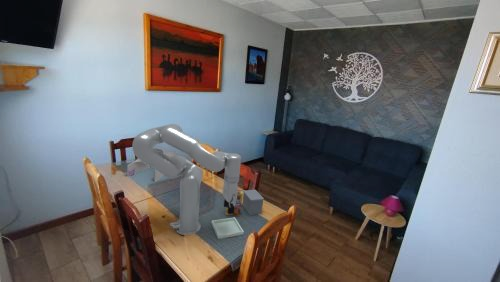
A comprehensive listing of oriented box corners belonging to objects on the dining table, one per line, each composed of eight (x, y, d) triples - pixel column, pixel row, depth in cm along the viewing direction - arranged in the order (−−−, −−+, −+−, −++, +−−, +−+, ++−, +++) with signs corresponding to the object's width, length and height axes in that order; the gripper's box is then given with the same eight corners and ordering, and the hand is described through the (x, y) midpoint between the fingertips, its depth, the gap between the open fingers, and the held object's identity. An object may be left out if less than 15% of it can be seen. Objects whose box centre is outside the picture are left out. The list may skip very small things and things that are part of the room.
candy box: (225, 215, 135) (227, 191, 132) (226, 211, 139) (228, 188, 136) (240, 216, 135) (242, 193, 132) (240, 213, 139) (243, 189, 136)
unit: (249, 216, 137) (251, 200, 134) (241, 205, 148) (243, 190, 146) (262, 214, 140) (264, 198, 138) (253, 204, 151) (255, 189, 149)
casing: (155, 183, 166) (155, 157, 162) (127, 178, 170) (126, 152, 165) (174, 171, 193) (175, 148, 188) (149, 166, 196) (149, 144, 192)
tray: (218, 239, 113) (218, 236, 113) (211, 223, 126) (211, 220, 125) (243, 235, 119) (243, 231, 118) (234, 220, 131) (234, 217, 131)
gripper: (219, 171, 122) (217, 202, 126) (230, 185, 107) (226, 220, 111) (233, 171, 125) (230, 201, 129) (244, 184, 110) (241, 218, 114)
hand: (228, 209), depth 120 cm, fingers open, 6 cm apart
